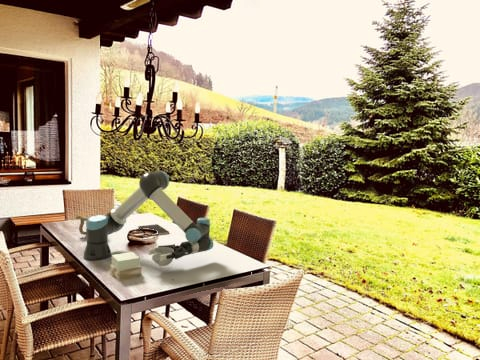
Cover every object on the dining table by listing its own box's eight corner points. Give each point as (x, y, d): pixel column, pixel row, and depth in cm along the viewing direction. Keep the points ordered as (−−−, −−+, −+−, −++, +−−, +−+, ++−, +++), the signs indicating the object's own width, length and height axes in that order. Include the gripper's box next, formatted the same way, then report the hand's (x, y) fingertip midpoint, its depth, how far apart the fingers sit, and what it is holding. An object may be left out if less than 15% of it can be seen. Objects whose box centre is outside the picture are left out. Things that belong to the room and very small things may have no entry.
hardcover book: (147, 237, 274) (147, 233, 274) (137, 229, 293) (137, 226, 293) (169, 234, 282) (169, 231, 282) (158, 227, 302) (158, 224, 301)
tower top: (111, 264, 203) (111, 255, 203) (132, 260, 210) (132, 251, 209) (118, 270, 194) (118, 261, 194) (139, 267, 201) (139, 257, 200)
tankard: (108, 235, 271) (108, 214, 269) (100, 240, 259) (100, 219, 257) (81, 234, 273) (81, 213, 271) (71, 238, 260) (71, 217, 259)
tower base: (109, 273, 203) (109, 264, 202) (131, 269, 211) (131, 260, 210) (119, 281, 194) (119, 271, 194) (141, 275, 202) (141, 266, 202)
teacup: (164, 259, 216) (164, 245, 215) (177, 264, 209) (178, 249, 208) (144, 265, 205) (144, 250, 204) (157, 270, 198) (157, 255, 197)
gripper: (201, 259, 211) (166, 268, 196) (177, 248, 227) (143, 255, 212) (201, 246, 210) (166, 254, 195) (177, 236, 226) (143, 242, 211)
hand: (154, 255), depth 204 cm, fingers closed on teacup, 11 cm apart
